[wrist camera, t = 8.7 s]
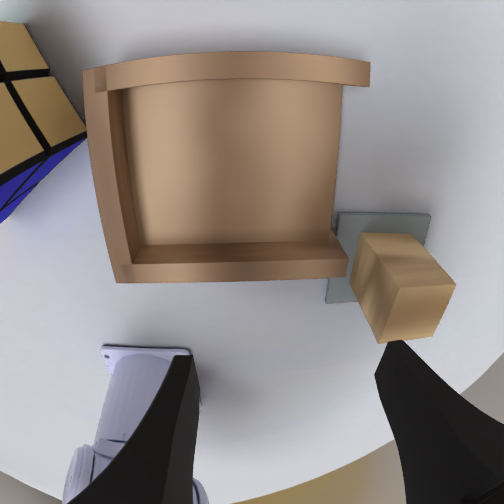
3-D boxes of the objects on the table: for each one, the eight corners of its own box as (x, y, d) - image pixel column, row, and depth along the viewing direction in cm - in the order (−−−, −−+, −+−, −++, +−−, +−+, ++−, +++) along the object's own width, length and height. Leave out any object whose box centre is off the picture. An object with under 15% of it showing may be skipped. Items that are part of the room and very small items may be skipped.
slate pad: (405, 293, 23) (407, 296, 23) (325, 300, 23) (326, 303, 22) (428, 214, 20) (430, 216, 19) (338, 212, 19) (340, 215, 19)
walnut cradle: (341, 64, 15) (370, 62, 11) (327, 242, 20) (345, 277, 17) (113, 71, 14) (82, 70, 11) (134, 247, 20) (116, 283, 16)
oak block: (396, 281, 22) (432, 336, 17) (348, 282, 22) (378, 343, 16) (410, 233, 20) (456, 284, 15) (360, 232, 20) (399, 288, 14)
